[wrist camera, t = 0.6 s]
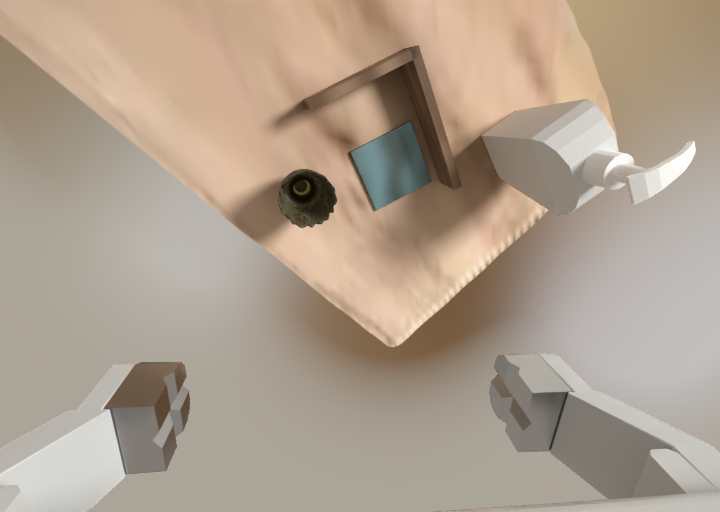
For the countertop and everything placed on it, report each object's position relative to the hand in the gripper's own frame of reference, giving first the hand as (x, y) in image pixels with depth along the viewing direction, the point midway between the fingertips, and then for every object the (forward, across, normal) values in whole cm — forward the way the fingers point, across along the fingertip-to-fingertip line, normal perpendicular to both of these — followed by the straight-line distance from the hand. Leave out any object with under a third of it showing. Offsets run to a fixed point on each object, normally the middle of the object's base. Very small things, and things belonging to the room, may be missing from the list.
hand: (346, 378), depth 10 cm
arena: (+50, -9, -2) cm, 50 cm away
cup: (+48, +3, +4) cm, 49 cm away
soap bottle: (+53, -30, -3) cm, 61 cm away
